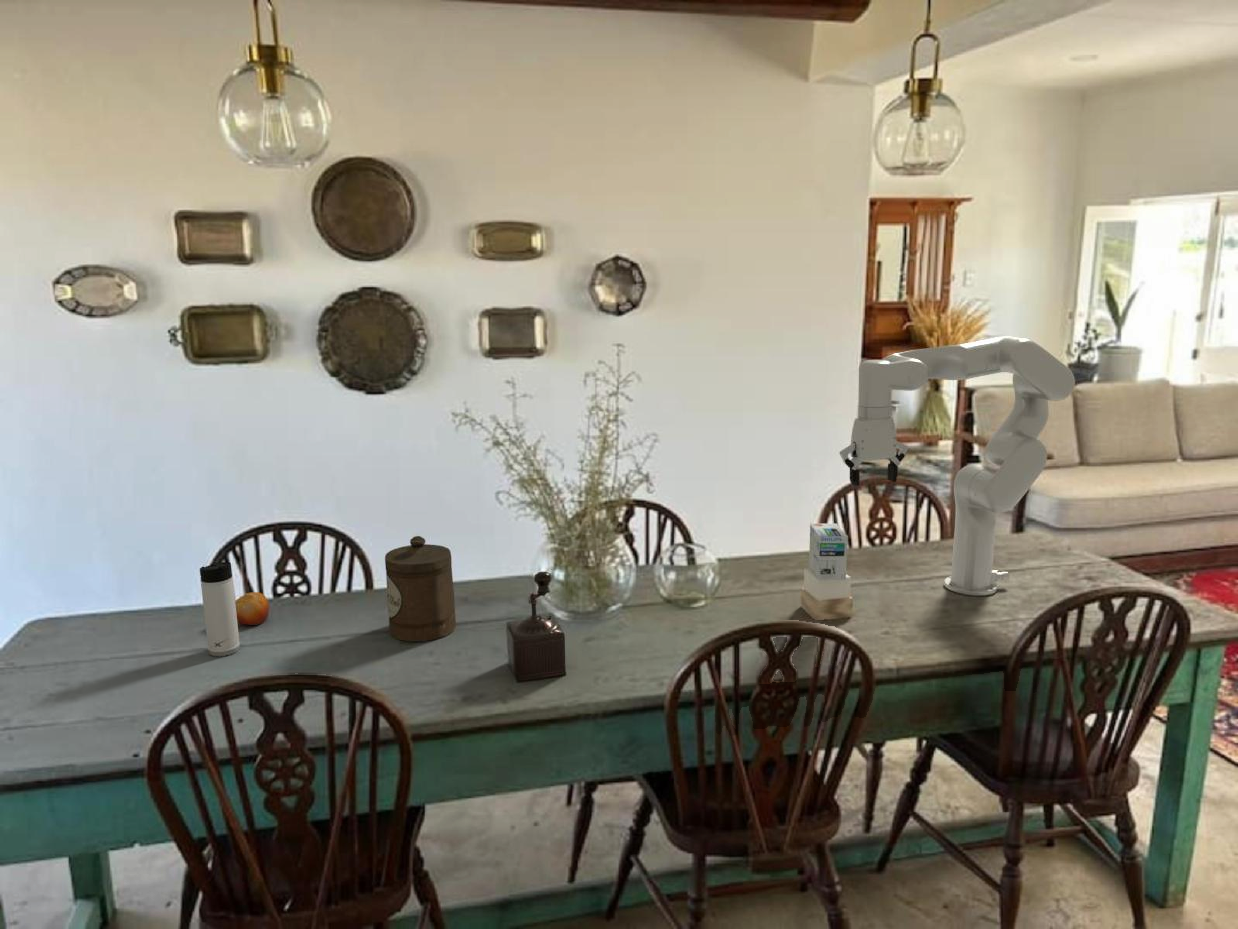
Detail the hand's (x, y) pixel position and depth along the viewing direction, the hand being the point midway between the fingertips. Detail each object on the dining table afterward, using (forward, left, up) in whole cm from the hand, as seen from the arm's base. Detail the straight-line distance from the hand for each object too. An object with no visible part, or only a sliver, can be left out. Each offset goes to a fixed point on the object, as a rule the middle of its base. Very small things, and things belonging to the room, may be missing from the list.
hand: (873, 482), depth 224 cm
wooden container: (+108, -3, -29) cm, 112 cm away
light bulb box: (+14, +7, -20) cm, 25 cm away
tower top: (+14, +7, -24) cm, 29 cm away
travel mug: (+150, 0, -29) cm, 153 cm away
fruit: (+147, -16, -29) cm, 151 cm away
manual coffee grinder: (+85, +21, -29) cm, 92 cm away
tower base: (+14, +7, -29) cm, 33 cm away
